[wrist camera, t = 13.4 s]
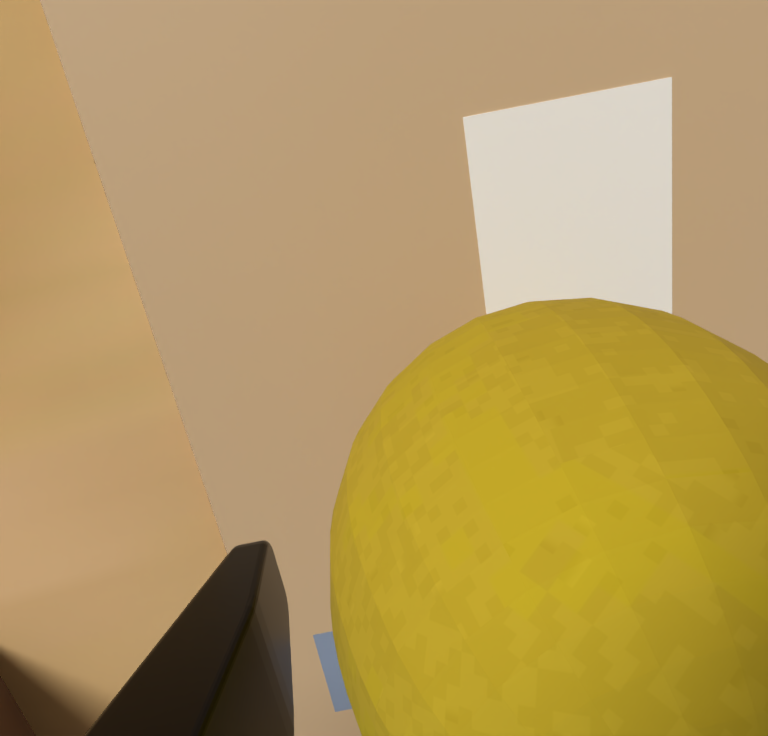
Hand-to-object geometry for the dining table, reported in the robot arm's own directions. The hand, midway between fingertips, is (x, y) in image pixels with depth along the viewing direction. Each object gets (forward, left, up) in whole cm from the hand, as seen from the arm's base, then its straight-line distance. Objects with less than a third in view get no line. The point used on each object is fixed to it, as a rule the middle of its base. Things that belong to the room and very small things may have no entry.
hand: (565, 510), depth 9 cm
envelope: (0, 0, -3) cm, 3 cm away
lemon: (0, 0, -3) cm, 3 cm away
